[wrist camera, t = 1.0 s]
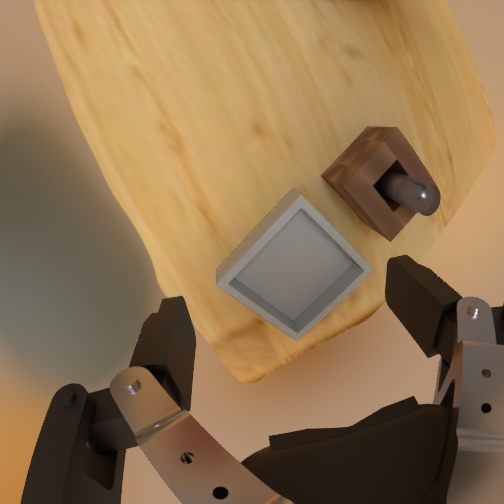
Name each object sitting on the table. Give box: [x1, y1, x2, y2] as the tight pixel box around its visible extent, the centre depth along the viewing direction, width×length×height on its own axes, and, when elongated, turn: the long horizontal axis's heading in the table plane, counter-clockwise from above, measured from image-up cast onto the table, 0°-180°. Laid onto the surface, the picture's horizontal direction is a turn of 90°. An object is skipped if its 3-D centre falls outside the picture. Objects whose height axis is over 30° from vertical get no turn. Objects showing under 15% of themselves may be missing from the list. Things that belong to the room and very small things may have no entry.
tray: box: [216, 188, 374, 341], centre depth 36 cm, size 14×14×4 cm
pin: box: [373, 170, 440, 216], centre depth 28 cm, size 3×3×12 cm
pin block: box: [321, 127, 438, 242], centre depth 31 cm, size 9×9×7 cm
